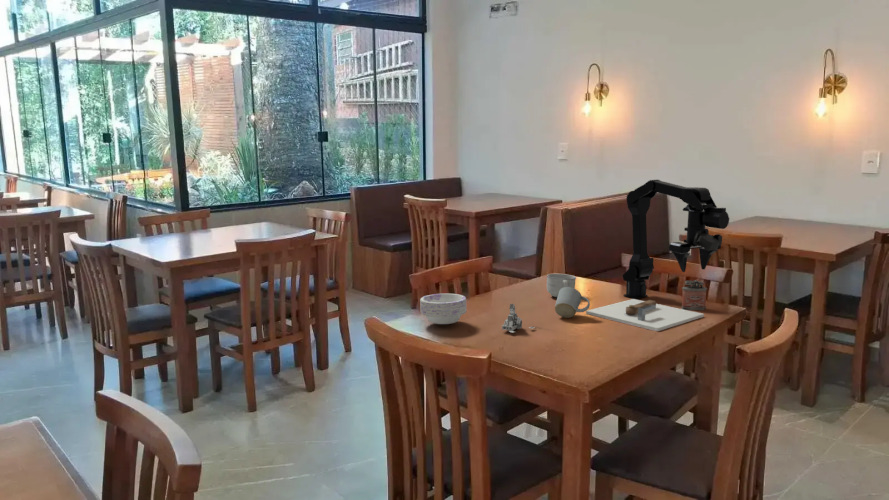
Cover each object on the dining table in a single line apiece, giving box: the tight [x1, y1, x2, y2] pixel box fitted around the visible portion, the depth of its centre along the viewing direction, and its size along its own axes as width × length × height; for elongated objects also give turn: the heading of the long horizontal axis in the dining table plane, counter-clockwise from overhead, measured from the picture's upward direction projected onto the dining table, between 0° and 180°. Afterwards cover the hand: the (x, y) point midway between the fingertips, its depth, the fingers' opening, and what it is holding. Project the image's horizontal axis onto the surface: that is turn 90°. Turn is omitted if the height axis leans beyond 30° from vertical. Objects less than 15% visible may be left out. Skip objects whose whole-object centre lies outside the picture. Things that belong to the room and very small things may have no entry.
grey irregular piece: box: [501, 303, 536, 333], centre depth 212 cm, size 9×9×8 cm
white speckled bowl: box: [419, 293, 467, 325], centre depth 221 cm, size 15×15×8 cm
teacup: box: [546, 273, 577, 298], centre depth 252 cm, size 14×11×8 cm
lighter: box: [681, 279, 708, 311], centre depth 232 cm, size 8×3×10 cm, turn 84°
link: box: [626, 299, 657, 315], centre depth 226 cm, size 16×3×3 cm, turn 133°
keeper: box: [638, 305, 656, 321], centre depth 218 cm, size 2×7×4 cm, turn 128°
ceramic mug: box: [554, 287, 591, 319], centre depth 223 cm, size 11×8×8 cm
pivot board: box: [585, 298, 705, 332], centre depth 225 cm, size 28×26×1 cm
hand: (693, 270), depth 229 cm, fingers open, 9 cm apart
